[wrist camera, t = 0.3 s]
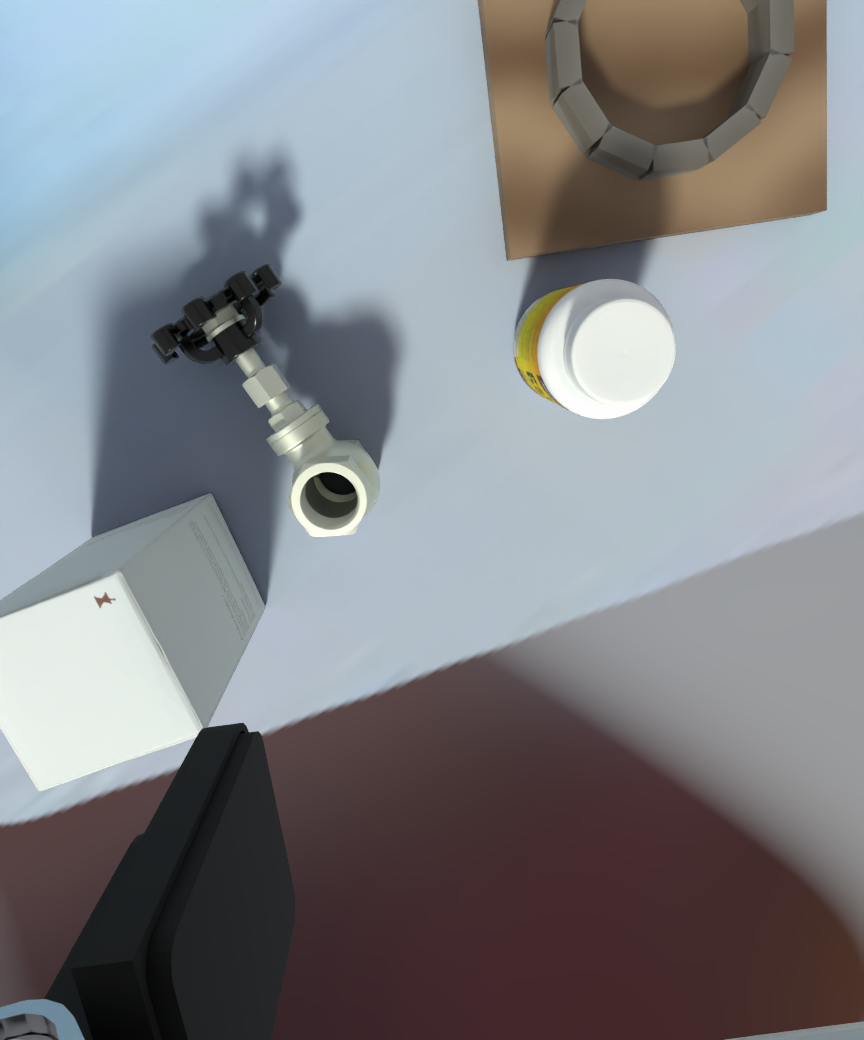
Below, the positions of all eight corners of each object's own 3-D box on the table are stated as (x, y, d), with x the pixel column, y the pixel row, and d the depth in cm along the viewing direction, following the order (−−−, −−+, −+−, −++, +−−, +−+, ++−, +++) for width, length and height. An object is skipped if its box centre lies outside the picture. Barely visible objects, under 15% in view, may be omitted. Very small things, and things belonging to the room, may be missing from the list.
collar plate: (466, -99, 31) (473, -151, 28) (806, -152, 31) (855, -210, 28) (506, 260, 35) (517, 253, 32) (809, 215, 35) (852, 202, 32)
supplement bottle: (492, 374, 37) (524, 391, 27) (540, 270, 35) (591, 246, 26) (589, 418, 37) (654, 450, 28) (639, 317, 36) (726, 312, 26)
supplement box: (86, 536, 38) (-65, 633, 26) (214, 489, 38) (121, 565, 26) (147, 655, 40) (33, 798, 28) (270, 611, 40) (208, 737, 27)
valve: (416, 469, 38) (281, 269, 35) (418, 498, 32) (253, 255, 29) (314, 536, 39) (174, 345, 36) (296, 577, 32) (123, 348, 30)
